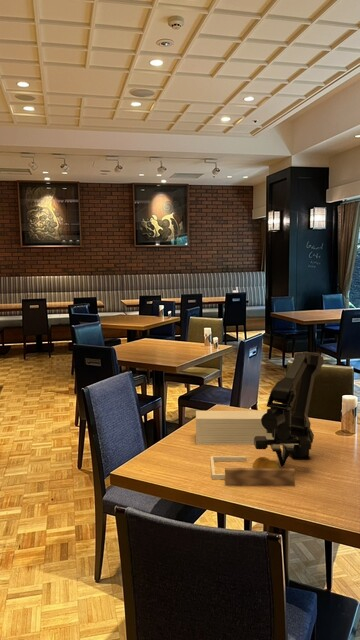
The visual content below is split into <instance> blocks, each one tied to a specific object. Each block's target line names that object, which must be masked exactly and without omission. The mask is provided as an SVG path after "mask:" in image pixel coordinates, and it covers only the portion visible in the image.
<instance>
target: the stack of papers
mask: <svg viewBox="0 0 360 640" xmlns="http://www.w3.org/2000/svg"><path fill="white" fill-rule="evenodd" d="M265 413H267V410H195V444H196V445H205V446H206V445H208V446H209V445H210V446H211V445H212V444H213V445H212V446H214V445H215V444H216V446H218V445H217V444H220V445H222V444H228V445H229V446H230V444H231V446H232V445H233V446H235V445H237V446H239V445H240V446H242V445H243V446H244V445H245V446H246V445H249V446H250V445H251V446H255V445H254V437H255V436H265V437H266V439H274V438H273V437H272V433H267V432H266V429H265V428H264V427H263V425H262V423H261V418H262V416H263V415H264V414H265ZM222 446H223V445H222Z"/></svg>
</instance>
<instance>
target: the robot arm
mask: <svg viewBox="0 0 360 640" xmlns="http://www.w3.org/2000/svg"><path fill="white" fill-rule="evenodd" d="M324 360H325V359H324V356H322V354H321V353H319V352H309V351H303V352H296V353H295V354H294V356H293V361H292V362H291V364H290V365H289V367H288V369H287V371H286V373H285V374H284V377H283V378H282V379H279V380H278V381H277V382H276V383H275V385H273V387H272V389H271V390H270V393H269V397H268V399H267V403H266V408H267V409H266V411H267V413H265V414H264V415H263V416H262V418H261V423H262V425H263V427H264V428H265V429H266V432H267V433H272V437H273V438H274V439H266V437H265V436H255V437H254V445H253V446H254V447H255V449H256V450H266V449H268V447H269V446H270V448H271V450H272V452H274V453H276V456H277V459H278V462H279V463H278V464H279V467H280V468H284V466H285V464H286V462H287V460H288V458H289V456H290V458H291V459H293V460H310V459H311V457H310V450H311V449H312V443H314V437H315V436H314V432H313V431H312V429H311V420H310V419H309V415H308V414H309V410H310V404H311V399H312V394H313V388H314V383H315V379H316V377H317V376H318V374H319V373H320V372H321V371H322V366H323V365H324ZM298 383H299V387H298V391H297V390H296V388H297V386H298ZM295 401H296V402H295ZM294 404H295V407H294ZM293 408H294V412H292V409H293ZM281 446H282V448H281Z"/></svg>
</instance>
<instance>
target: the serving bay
mask: <svg viewBox="0 0 360 640" xmlns="http://www.w3.org/2000/svg"><path fill="white" fill-rule="evenodd" d="M209 459H210V461H209V462H210V471H211V479H212V480H225V473H216V472H215V471H216V470H215V462H248V457H247V455H245V456H244V455H237V456H236V455H210V458H209Z"/></svg>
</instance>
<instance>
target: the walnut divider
mask: <svg viewBox="0 0 360 640" xmlns="http://www.w3.org/2000/svg"><path fill="white" fill-rule="evenodd" d="M224 474H225V479H224V485H225V486H282V487H283V486H290V487H291V486H294V487H295V479H296V478H295V475H296V471H295V468H291V467H289V468H287V467H285V468H284V467H279V468H253V467H250V468H249V467H248V468H247V467H242V468H241V467H237V468H236V467H224Z"/></svg>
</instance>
